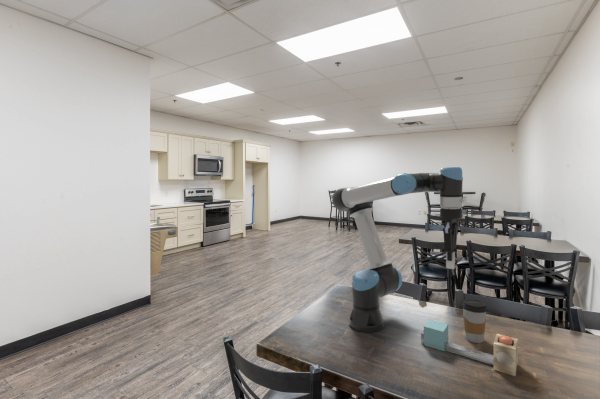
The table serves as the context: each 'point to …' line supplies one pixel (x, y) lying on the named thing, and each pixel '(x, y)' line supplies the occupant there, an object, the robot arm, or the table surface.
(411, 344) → the table surface
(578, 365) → the table surface
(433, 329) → the block
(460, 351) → the rail
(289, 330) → the table surface
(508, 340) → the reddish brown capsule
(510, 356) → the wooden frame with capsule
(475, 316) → the coffee cup
